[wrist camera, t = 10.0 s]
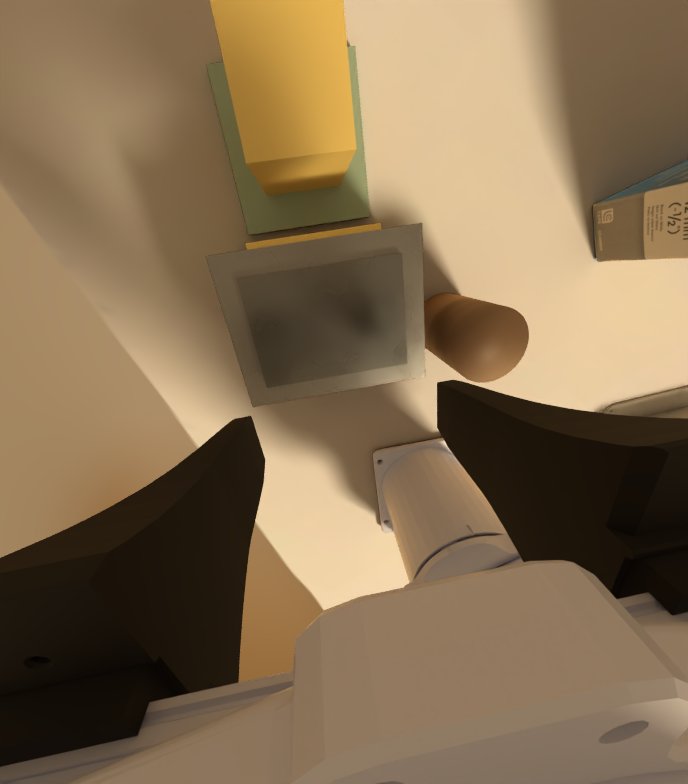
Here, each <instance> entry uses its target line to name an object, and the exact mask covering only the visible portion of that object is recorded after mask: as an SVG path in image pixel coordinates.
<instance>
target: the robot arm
mask: <svg viewBox="0 0 688 784" xmlns="http://www.w3.org/2000/svg"><path fill="white" fill-rule="evenodd" d="M437 428H438V430H439V432H440V433H441V435H442V437H443V438H438V439H433V440H428V441H422V442H417V443H412V444H407V445H401V446H396V447H391V448H385V449H380V450H376V451H375V452H374V453H373V463H374V471H375V479H376V488H377V496H378V504H379V512H380V521H381V528H382V531H383V532H385V533H388V532H393V531H394V534H395V538H396V541H397V544H398V547H399V550H400V553H401V557H402V560H403V563H404V566H405V569H406V572H407V576H408V579H409V582H410V583H409V584H407V585H405V587H404V588H400V589H395V590H390V591H385V592H381V593H376V594H371V595H366V596H362V597H358V598H355V599H353V600H350V601H348V602H345V603H342V604H340V605H337V606H335V607H332V608H329V609H327V610H325V611H324V612H323V613H321V614H320V615H319V616H318V617H317V618H316V619H315V620H314V621H313V622H312V623H311V624H310V625H309V626H308V627H307V628H306V629H305V630H304V631H303V632H302V633H301V634H300V635H299V636H298V637H297V638H296V644H295V654H294V670H293V671H289V672H284V673H280V674H275V675H271V676H266V677H262V678H258V679H253V680H248V681H243V682H239V683H238V679H239V657H240V642H241V629H242V614H243V603H244V592H245V582H246V573H247V564H248V555H249V548H250V542H251V536H252V532H253V528H254V523H255V519H256V515H257V510H258V506H259V501H260V497H261V492H262V487H263V482H264V470H265V458H264V454H263V451H262V448H261V445H260V442H259V439H258V436H257V433H256V430H255V426H254V423H253V420H252V417H251V416H248V417H242V418H237V419H234V420H232V421H231V422H230V423H228V424H227V425H226V426H224V427H223V428H222V429H221V430H220V431H219V432H217V433H216V434H215V435H214V436H213V437H211V438H210V439H209V440H208V441H207V442H206V443H204V444H203V445H202V446H201V447H200V448H198V449H197V450H196V451H195V452H193V453H192V454H191V455H190V456H188V457H187V458H186V459H184V460H183V461H182V462H180V463H179V464H178V465H177V466H175V467H174V468H173V469H171V470H170V471H168V472H167V473H165V474H164V475H162V476H161V477H159V478H158V479H156V480H155V481H154V482H152V483H150V484H149V485H147V486H146V487H144V488H142V489H141V490H139V491H138V492H135V493H134V494H132V495H130V496H128V497H127V498H125V499H123V500H122V501H120V502H118V503H116V504H115V505H113V506H111V507H109V508H108V509H106V510H104V511H102V512H100V513H98V514H96V515H94V516H92V517H90V518H88V519H86V520H85V521H82V522H80V523H78V524H76V525H74V526H72V527H70V528H68V529H66V530H63V531H61V532H59V533H57V534H55V535H52V536H50V537H48V538H46V539H43V540H41V541H39V542H36V543H34V544H32V545H30V546H27V547H25V548H22V549H20V550H18V551H15V552H13V553H11V554H8V555H6V556H4V557H1V558H0V784H688V418H658V417H641V416H626V415H615V414H605V413H597V412H589V411H581V410H574V409H568V408H562V407H557V406H551V405H546V404H541V403H537V402H532V401H528V400H524V399H520V398H516V397H513V396H509V395H505V394H502V393H499V392H495V391H492V390H489V389H485V388H482V387H479V386H476V385H472V384H469V383H465V382H461V381H457V380H449V381H443V382H438V383H437ZM378 460H381V461H380V462H377V461H378Z"/></svg>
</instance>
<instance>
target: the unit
mask: <svg viewBox="0 0 688 784" xmlns="http://www.w3.org/2000/svg"><path fill="white" fill-rule="evenodd" d="M245 244H246V248H247V250H242V251H236V252H229V253H223V254H216V255H210V256H206V259H207V262H208V265H209V269H210V272H211V275H212V278H213V281H214V285H215V288H216V291H217V294H218V297H219V301H220V304H221V307H222V310H223V313H224V316H225V320H226V323H227V326H228V329H229V332H230V336H231V339H232V342H233V345H234V348H235V352H236V355H237V358H238V361H239V364H240V368H241V371H242V374H243V377H244V380H245V383H246V387H247V390H248V393H249V396H250V399H251V403H252V406H253V407H256V406H262V405H268V404H273V403H279V402H285V401H290V400H296V399H301V398H307V397H313V396H318V395H324V394H330V393H335V392H341V391H346V390H352V389H358V388H363V387H369V386H375V385H380V384H386V383H391V382H397V381H403V380H408V379H414V378H420V377H425V333H424V286H423V239H422V223H419V224H412V225H405V226H399V227H392V228H386V229H381V223H376V224H369V225H363V226H356V227H350V228H343V229H336V230H330V231H323V232H317V233H310V234H303V235H297V236H290V237H284V238H277V239H271V240H264V241H257V242H251V243H245Z"/></svg>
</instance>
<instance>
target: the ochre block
mask: <svg viewBox="0 0 688 784" xmlns="http://www.w3.org/2000/svg"><path fill="white" fill-rule="evenodd" d="M210 4H211V8H212V13H213V17H214V22H215V26H216V31H217V35H218V39H219V44H220V48H221V53H222V57H223V62H224V66H225V71H226V75H227V80H228V84H229V89H230V93H231V98H232V102H233V107H234V111H235V116H236V120H237V125H238V129H239V134H240V138H241V143H242V147H243V152H244V156H245V161H246V164H247V166H248V167H249V169H250V170H251V172H252V173H253V175H254V176H255V178H256V180H257V181H258V183H259V184H260V186H261V187H262V189H263V191H264V192H265V194H266V195H267V196H270V195H278V194H285V193H292V192H300V191H307V190H315V189H322V188H330V187H337V186H340V184H341V182H342V180H343V178H344V176H345V173H346V171H347V169H348V167H349V165H350V162H351V160H352V158H353V156H354V154H355V152H356V149H357V148H356V137H355V126H354V115H353V104H352V93H351V81H350V70H349V59H348V48H347V37H346V26H345V15H344V3H343V0H210Z"/></svg>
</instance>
